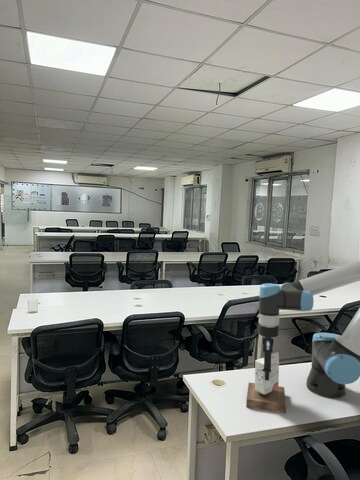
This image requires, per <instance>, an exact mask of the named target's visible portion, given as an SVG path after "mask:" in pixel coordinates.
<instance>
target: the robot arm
mask: <svg viewBox="0 0 360 480" xmlns="http://www.w3.org/2000/svg"><path fill="white" fill-rule="evenodd" d="M356 282H360V257H359V258H358V260H357V261H354V262H350V263H347V264H344V265H342V266H338V267H335V268H333V269H329V270H327V271H324V272H321V273H318V274H315V275H312V276H309V277H306V278H303V279H300V280H297V281H294V282H284V283H282V284H281V285H279V284H277V283H271V282H270V283H262V284H261V285H260V287H259V294H258V296H259V297H258V299H259V300H258V314H257V315H256V317H257V318H258V323H259V324H258V325H257V326H258V328H257V329H258V330H257V333H258V335H259V336H262V351H263V355H264V356H263V358H264V369H262V371H263V388H269V389H270V384H271V357H272V356H271V354H273V351H274V350H273V349H274V348H273V346H274V338H276V337H278V336H279V335H280V334H279V333H280V332H279V330H280V329H279V328H280V327H279V324H280V311H281V310H282V311H298V312H299V311H300V312H310V311H312V310H313V308H314V302H315V301H314V296H316V295H319V294H322V293H325V292H329V291H331V290H335V289H337V288H341V287H344V286H347V285H348V286H349V285H351V284H353V283H356ZM359 378H360V307H359V308H358V310H357V311H356V312H355V314H354V316H353V317H352V319H351V321H350V322H349V323H348V325H347V326H346V328H345V330H344V331H343V332H342V334H336V333H330V332H316V333H314V334H313V336H312V347H311V367H310V370H309V374H308V375H307V378H306V388H307V389H308V390H309V391H310V392H312V393H314V394H316V395H318V396H322V397H326V398H342V397H343V396H345V395H346V390H347V387H346V385H350V384H353V383H355V382H357V381H358V380H359Z"/></svg>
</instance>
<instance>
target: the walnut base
mask: <svg viewBox="0 0 360 480" xmlns="http://www.w3.org/2000/svg"><path fill="white" fill-rule="evenodd" d="M245 406H246V408H250V409H256V410H257V409H258V410H263V411H270V412H277V413H283V414H286V411H287V409H286V408H287V401H286V392H285V386H281V385H278V389H276V390H274V391H272V392H269V393H267V394H265V395H264V394H262V393H260V392H258V391H256V390H255V382H248V386H247V395H246V405H245Z"/></svg>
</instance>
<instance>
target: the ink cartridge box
mask: <svg viewBox="0 0 360 480" xmlns="http://www.w3.org/2000/svg"><path fill="white" fill-rule="evenodd" d="M279 355H280V353H279V351H277V352H274V353H273V352H272V353H271V384H270V389H269V388H263V371H262V369H264V357H261V358H259V359H255V360H254V362H255V364H254V365H255V367H254V371H255V372H254V383H255V390H256V391H258V392H260V393H262V394H264V395H265V394H267V393H269V392H272V391H274V390H276V389H278V386H279V380H280V379H279V377H280V375H279V373H280V358H279V357H280V356H279Z"/></svg>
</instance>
